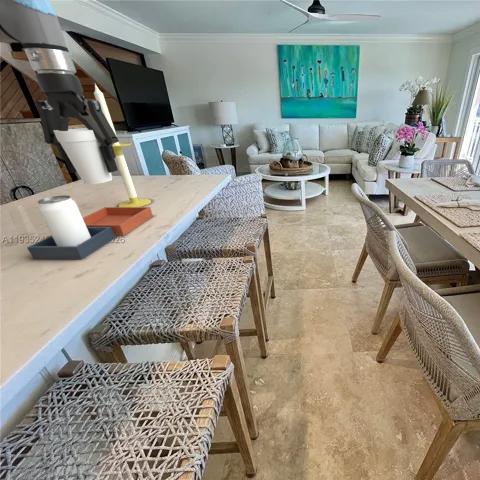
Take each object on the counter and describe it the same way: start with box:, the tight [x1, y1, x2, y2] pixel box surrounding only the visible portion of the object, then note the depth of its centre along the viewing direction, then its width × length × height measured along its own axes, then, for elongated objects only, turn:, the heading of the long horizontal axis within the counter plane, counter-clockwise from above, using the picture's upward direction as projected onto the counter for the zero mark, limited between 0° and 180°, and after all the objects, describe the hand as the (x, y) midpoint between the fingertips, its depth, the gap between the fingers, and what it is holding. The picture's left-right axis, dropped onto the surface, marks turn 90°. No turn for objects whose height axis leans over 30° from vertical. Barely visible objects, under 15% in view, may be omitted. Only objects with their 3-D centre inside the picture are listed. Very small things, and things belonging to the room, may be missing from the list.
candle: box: [93, 83, 152, 207], centre depth 86 cm, size 10×10×38 cm
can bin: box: [26, 227, 116, 260], centre depth 65 cm, size 11×11×3 cm
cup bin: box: [82, 206, 154, 237], centre depth 77 cm, size 14×14×3 cm
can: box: [37, 194, 91, 246], centre depth 63 cm, size 6×6×12 cm
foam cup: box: [54, 127, 113, 185], centre depth 69 cm, size 10×9×13 cm
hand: (94, 171), depth 71 cm, fingers closed on foam cup, 9 cm apart
